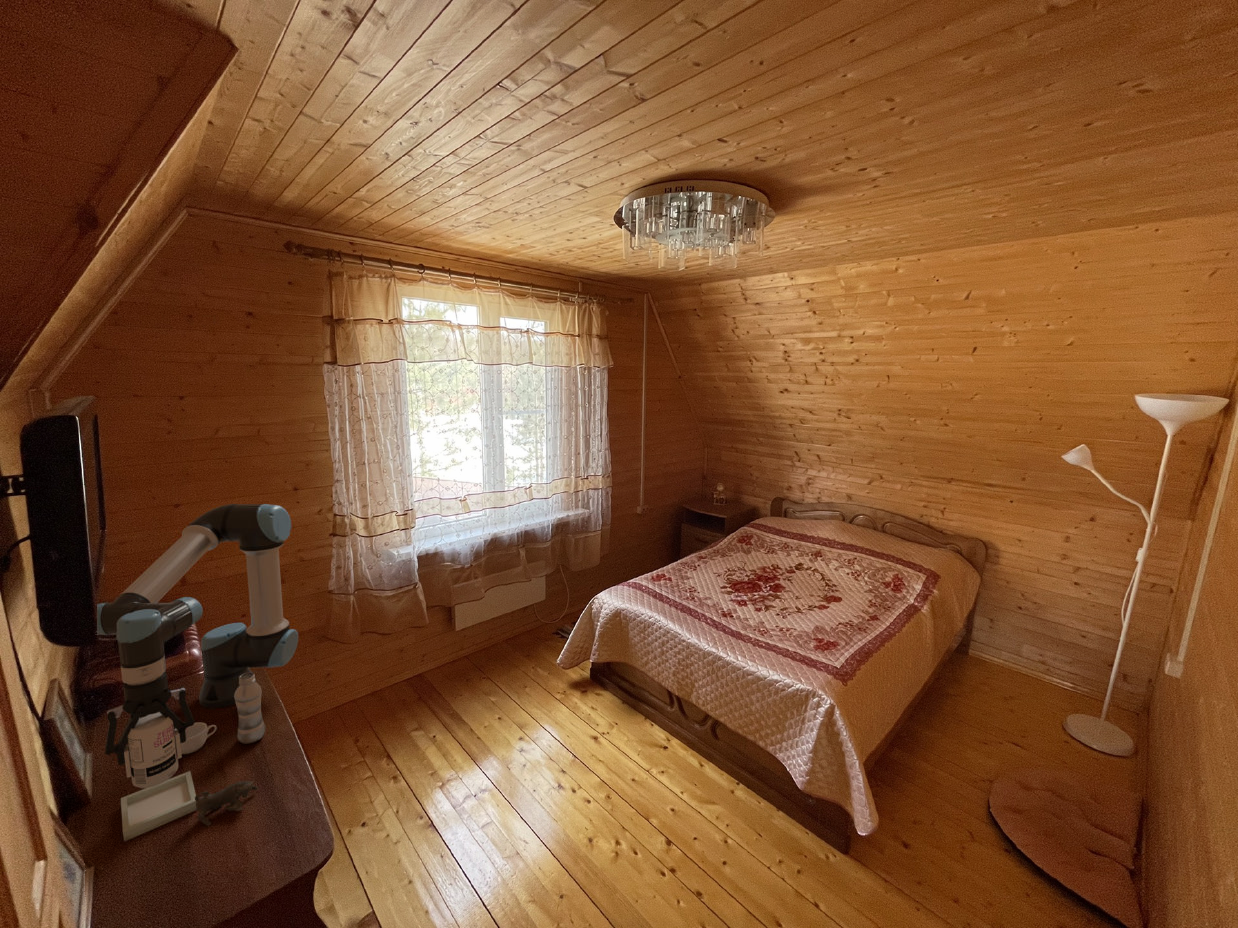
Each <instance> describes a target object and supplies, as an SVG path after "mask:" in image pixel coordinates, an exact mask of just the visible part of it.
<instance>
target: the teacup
mask: <svg viewBox="0 0 1238 928" xmlns="http://www.w3.org/2000/svg"><path fill="white" fill-rule="evenodd" d="M213 727H214V730H213V731H211V732H210V733H209V731H210V729H211V728H213ZM216 731H217V725H215V724H211V725H207V723H205V722H201V721H199V722H194V725H193V726H189V727H188V728H186V730H185V733H186V741H185V742H184V743H181V744H180V745H181V754H182V755H189V754H192V753H194V752H197V751H198V750H199V749H201V748H202V747H203V745H205V743H206V740H207V739H208V738H209V737H210V736H211V735H213V734H214V733H215V732H216Z"/></svg>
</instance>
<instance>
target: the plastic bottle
mask: <svg viewBox="0 0 1238 928" xmlns="http://www.w3.org/2000/svg"><path fill="white" fill-rule="evenodd" d="M255 679H256V677H255V673H254V672H252V673H245V674H243V675H241V676H240V677H239V685H240V686H239V687H238V688H237V690H236V692H235V694H234V699H235V702H236V704H235V705H236V708H237V715H238V727H237V739H238V741H239V742H241V744H245V745H246V744H252V743H255V742H257V741H259V740H260V739H261V738H263V736H264V735H265V732H266V725H265V722H264V720H263V715H262V708H261V707H262V704H261V703H262V702H261V701H262V691H263V690H262V687H261V685H260V684H259V683H258V682H257V681H256V682H257V683H256V682H254V681H255Z"/></svg>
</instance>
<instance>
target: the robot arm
mask: <svg viewBox="0 0 1238 928" xmlns="http://www.w3.org/2000/svg"><path fill="white" fill-rule="evenodd" d="M291 530H292V520H291V517H290V515H289V513H288V511H287V510H286V509H285V508H284V507H282V505H277V504H267V503H263V504H262V503H261V504H260V503H252V504H251V503H249V504H248V503H247V504H246V503H245V504H244V503H243V504H242V503H241V504H238V503H230V504H229V503H228V504H224V505H220V506H217V507H215V508H212V509H210V510H208V511H206V512H205V513H203V514H201V515H200V516H198V517H197V518H195V519H194V520H192V521H191V522H190V523H189V524H188V525H187V526H185V527H184V529H183V530H182V532H181V537H180V538H179V539H177V541H175V542H174V543H173V544H172V545H171V546H170V547H169V548H168V549H167V550H166V551H165V552H163V553H162V555H160V556H159V557H158V558H157V559H156V560H155V561H154V562H153V563H152V564H150V566H149V567H148V568H147V569H146V570H144V572H143V573H142V574H140V575H139V576H138V577H137V578H136V580H134V581H133V582H132V583H131V584H129V585H128V587H127V588H126V589H125V590H124V591H122V592H121V593H120V594H119V595H118V596H117V597H116V598H115V599H114V600H113V601H112V602H104V603H103V602H101V603H98V604H96V605H97V634H96V635H98V636H99V635H100V636H115V638H116V640H117V644H118V645H117V646H118V653H119V660H120V671H121V679H122V682H123V684H122V689H123V695H124V696H123V698H124V701H123V703H122V705H120V706H117V707H114V708H113V707H110V708H108V709H107V710H106V718H107V720H108V725H107V732H106V733H107V734H106V738H105V739H106V740H105V746H104V754H105V755H106V756H107V755H111V754H115V755H116V756H117V764H118V766H122V765H125V772H126V778H127V779H128V778H132V777H131V767H130V759H129V750H128V735H129V733H130V731H131V729H134V727H135V725H136V723H137V722H138V720H139V718H143V717H145V716H147V715H149V714H155V713H158V711H159V712H160V713H161V714H162V715H163V716H164V717H165V718H168V716H169V718H170V719H171V720H172V721H173V726H174V728H175V739H176V749H177V758H178V760H179V759H181V758H183V757H182V755H183V754H181V745H180V744H181V743H184V742H185V741H186V733H185V730H186V728H188V727H189V726H193V725H194V723H195V719H194V717H193V715H192V712H191V708H190V707H189V704H188V702H187V698H186V696H187V695H186V694H187V692H186V687H185V686H180V687H179V688H178V689H173V690H172V689H170V688H169V685H168V684H169V682H168V676H167V675H168V674H167V672H166V671H167V666H166V665H167V663H166V657H165V643H166V642H168V641H170V640H171V639H172V638H174V637H175V636H177V635H179V634H180V633H182V632H184V631H186V630H188V629H190V628H191V627H192V625H194V624H196V623H197V622H199V620H200V619H202V616H203V611H204V610H203V606H202V604H201V603H200V602H199V600H197V599H196V598H194V597H190V596H183V597H181V598H177V599H174V600H173V601H171V602H159V601H161V599H162V598H164V596H165V595H167V593H168V592H169V591H170V590H172V588H173V587H174V586H175V585H176V584H177V583H178V582H179V581H180V580H181V579H182V578H183V577H184V576H185V575H186V574H187V573H188V571H189V570H190V569H191V568H192V567H193V566H194V565H195V564H197V562H198V561H199V560H200V559H201V558H202V557H203V556H204V555H205V554H206V553H207V552H208V551H212V550H214V549H216V548H217V546H219V544H221V543H226V542H238V545H239V546H238V547H239V551H241V552H242V553H244V555H245V559H246V571H247V573H246V574H247V583H248V584H247V585H248V598H249V609H250V611H249V612H250V622H251V623H250V625H249V626H248V627H247V625H246V624H245V623H243V622H233V623H227V624H224V625H221V626H219V627H216V628H215V627H214V629H211V630H209V631H207V632H206V633H205V634H204V635H203V636H202V638H201V640H200V641H201V643H200V644H201V646H200V651H201V658H202V665H203V666H202V667H203V676H204V677H203V682H202V686H201V689H200V692H199V695H198V696H199V697H198V700H199V705H200V706H201V707H202V708H205V709H221V708H226V707H230V706H233V705H236V702H235V699H234V694H235V692H236V690H237V688H238V687H239V686H240V685H239V677H240V676H241V675H243V674H245V673H253V672H252V670H251V669H250V668H269V669H271V668H277V667H280V668H281V667H283V666H285V665H287V664H288V663H289V662H290V661H291V659H292V658H293V656H294V655H295V652H296V650H297V647H298V644H299V632H298V631H297V629H294V628H291V627H290V621H289V620H288V619H286V618H285V617H284V608H283V594H282V593H283V592H282V579H281V568H280V567H281V566H280V552H279V550H280V549H281V548H282V547H283V546H284V545H285V543H284V542H285V541H286V540H287V539H288V538H289V537H290V534H291ZM290 628H291V629H290ZM256 679H257V678H255V681H254V682H256V683H257V684H258V682H257V680H256ZM171 697H173V698H174V700H178V703H179V706H180V708H181V712H182V714H183V716H184V718H185V720H184V721H182V719H181V718H180V717H178V715H176V713H175V712H174V711H173V710H172V709H171V708H170V706H168V704H167V703H168V701H169V699H170V698H171ZM122 712H126V713H127V714H129V718H128V720H127V723H126V725H125V727H124V729H123V731H122V733H121V735H120V736H119V739H118V742H117V743H116V744H115V740H116V739H115V738H116V733H117V732H116V731H117V725H118V718H120V717H121V715H122Z"/></svg>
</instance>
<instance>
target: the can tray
mask: <svg viewBox="0 0 1238 928" xmlns="http://www.w3.org/2000/svg"><path fill="white" fill-rule="evenodd" d="M196 795H197V794H196V790H195V785H194V782H193V778H192V772H191V770H189V771H187V772H186V771H185V772H184V773H182V774H178V775H176V776H174V777H173V776H172V777H170V778H169V779H168V780H166V781H165V782H163V783H161V784H158V785H156V786H153V787H149V788H142V789H141V790H138V791H136V792H134V793H133V792H132V793H131V794H127V795H126V796H123V797H121V798H120V807H121V824H122V835H123V841H124V843H125V842H126V841H129V840H131V839H133V838H136V837H137V836H138V837H139V836H140V835H142V834H146V833H147V832H150V831H152V830H154V829H156V828H158V827H161V826H163V825H165V824H168V823H170V822H172V821H174V820H177V819H179V818H181V817H184V816H186V815H188V814H191V813H192V812H193V813H194V811H198V810H197V808H196V800H195V796H196Z"/></svg>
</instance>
